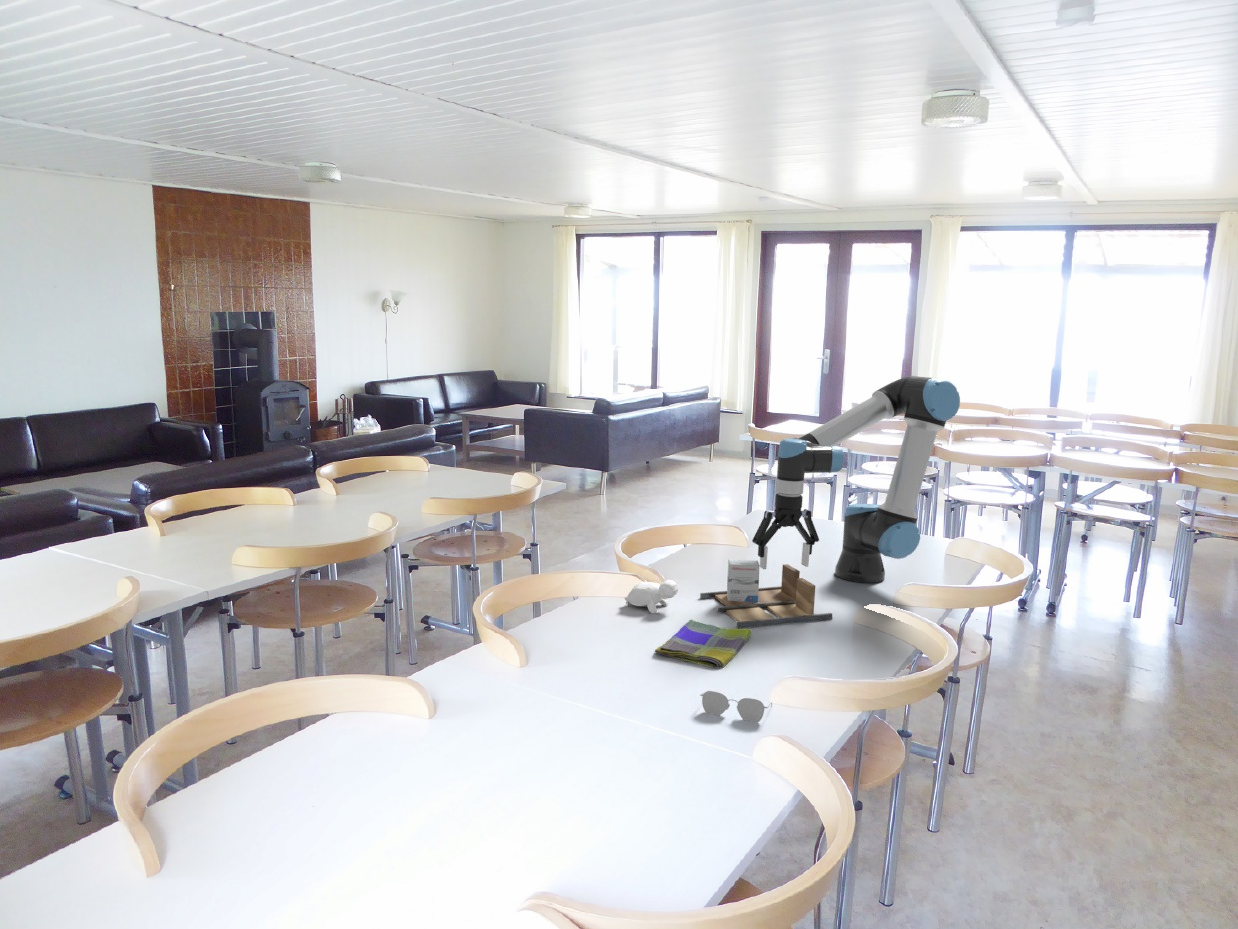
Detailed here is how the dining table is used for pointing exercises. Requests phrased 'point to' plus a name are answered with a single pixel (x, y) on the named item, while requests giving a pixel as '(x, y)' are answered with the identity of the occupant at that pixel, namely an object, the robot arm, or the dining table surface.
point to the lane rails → (764, 606)
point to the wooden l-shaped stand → (782, 606)
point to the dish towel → (705, 644)
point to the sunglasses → (745, 707)
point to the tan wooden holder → (781, 594)
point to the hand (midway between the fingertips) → (784, 566)
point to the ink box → (743, 580)
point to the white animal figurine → (651, 594)
